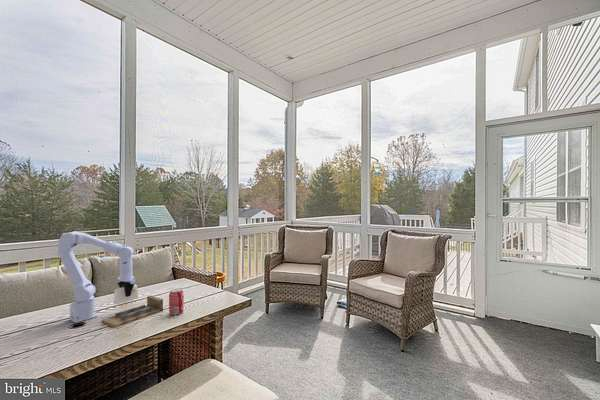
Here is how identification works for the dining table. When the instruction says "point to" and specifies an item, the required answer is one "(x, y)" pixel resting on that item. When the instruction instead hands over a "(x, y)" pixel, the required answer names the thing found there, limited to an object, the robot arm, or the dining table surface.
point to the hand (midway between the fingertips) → (126, 295)
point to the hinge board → (136, 312)
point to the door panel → (120, 294)
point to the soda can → (176, 301)
